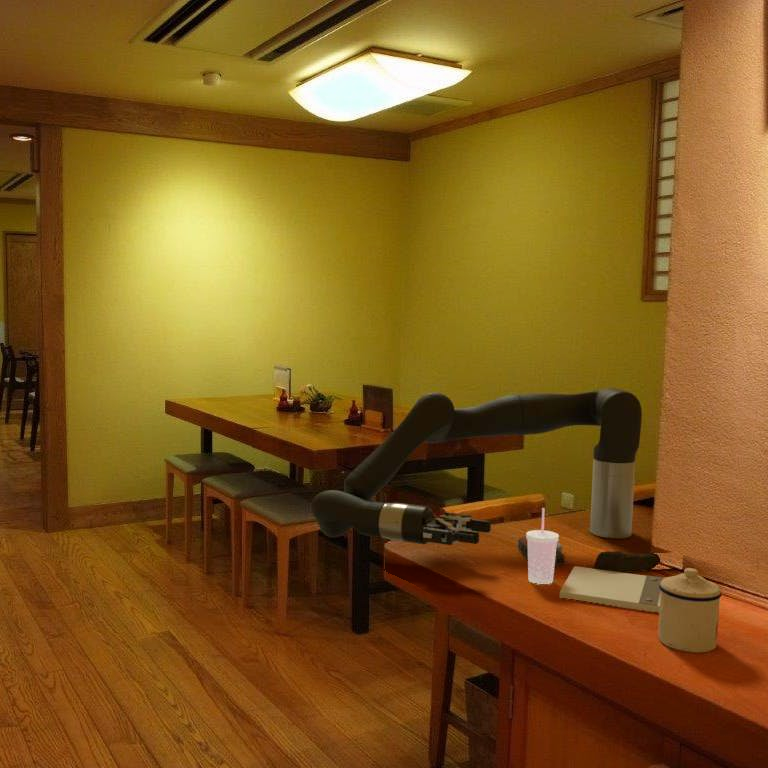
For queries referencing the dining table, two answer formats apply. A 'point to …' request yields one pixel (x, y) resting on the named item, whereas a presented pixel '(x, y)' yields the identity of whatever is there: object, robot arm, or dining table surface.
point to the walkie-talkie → (524, 550)
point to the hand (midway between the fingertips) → (484, 532)
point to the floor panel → (613, 588)
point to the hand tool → (625, 561)
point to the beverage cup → (541, 554)
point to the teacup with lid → (689, 612)
